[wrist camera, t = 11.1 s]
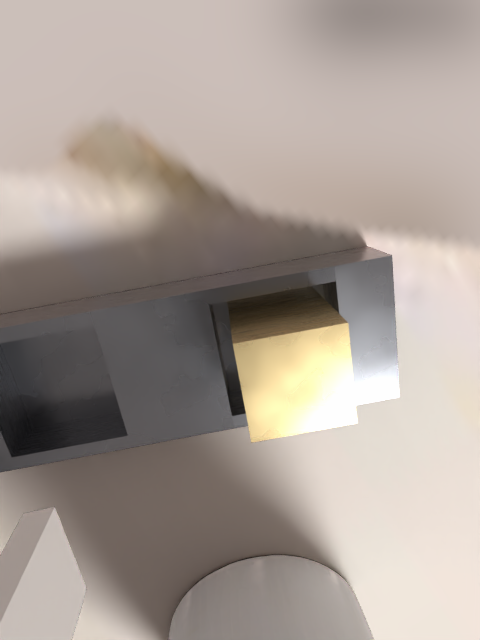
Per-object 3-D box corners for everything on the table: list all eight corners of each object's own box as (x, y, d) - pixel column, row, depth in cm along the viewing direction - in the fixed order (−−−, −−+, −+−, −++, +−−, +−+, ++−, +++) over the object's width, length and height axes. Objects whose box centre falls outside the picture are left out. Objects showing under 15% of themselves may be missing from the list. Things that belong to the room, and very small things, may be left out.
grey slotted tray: (-5, 442, 23) (-36, 479, 20) (-56, 324, 21) (-99, 346, 18) (376, 371, 23) (399, 397, 20) (367, 246, 21) (392, 255, 18)
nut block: (241, 377, 22) (251, 442, 17) (227, 301, 21) (232, 343, 15) (320, 363, 22) (357, 423, 17) (311, 286, 21) (348, 322, 15)
